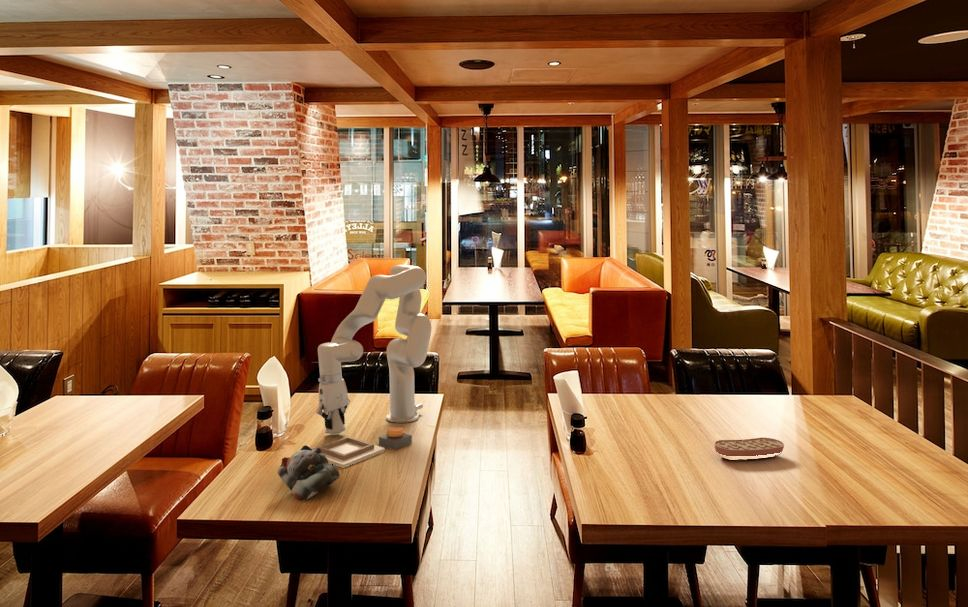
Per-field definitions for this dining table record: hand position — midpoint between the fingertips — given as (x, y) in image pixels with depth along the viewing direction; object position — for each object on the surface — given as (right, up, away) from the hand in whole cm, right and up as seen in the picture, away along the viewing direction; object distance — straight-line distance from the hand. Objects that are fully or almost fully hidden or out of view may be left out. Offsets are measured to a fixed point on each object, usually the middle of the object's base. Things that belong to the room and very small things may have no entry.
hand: (335, 425), depth 230 cm
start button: (+23, -4, -9) cm, 25 cm away
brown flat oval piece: (+140, -7, -21) cm, 142 cm away
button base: (+23, -5, -8) cm, 25 cm away
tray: (+8, -6, -17) cm, 20 cm away
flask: (0, -2, 0) cm, 2 cm away
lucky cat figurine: (+3, -10, -46) cm, 47 cm away
